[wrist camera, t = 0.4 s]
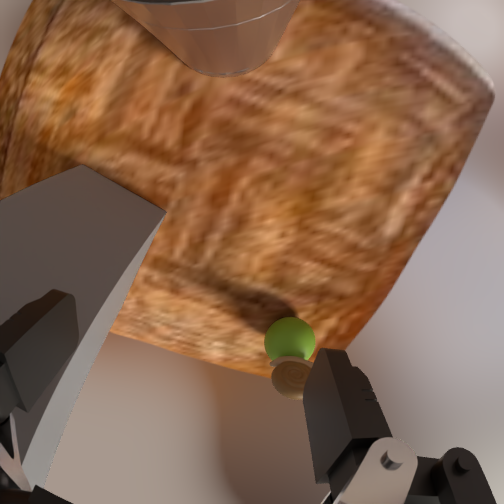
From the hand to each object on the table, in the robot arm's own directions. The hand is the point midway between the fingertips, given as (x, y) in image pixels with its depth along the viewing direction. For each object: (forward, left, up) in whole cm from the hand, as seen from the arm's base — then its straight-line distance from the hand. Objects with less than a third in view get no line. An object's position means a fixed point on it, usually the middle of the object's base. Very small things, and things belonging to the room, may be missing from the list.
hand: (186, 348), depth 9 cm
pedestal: (+5, -13, -19) cm, 24 cm away
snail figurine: (+15, +8, -20) cm, 26 cm away
